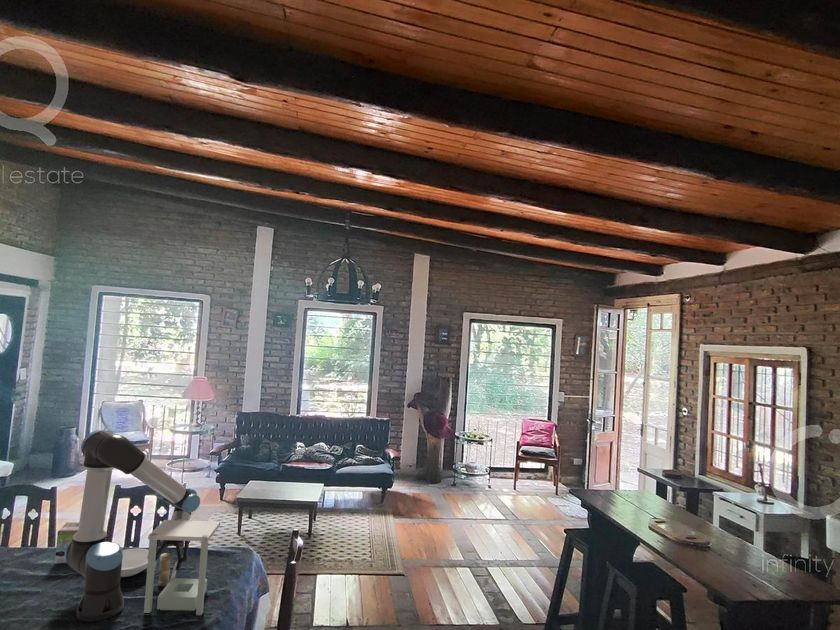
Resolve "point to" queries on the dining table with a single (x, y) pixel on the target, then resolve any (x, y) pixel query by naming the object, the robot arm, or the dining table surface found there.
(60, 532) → the tea box
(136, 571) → the bowl
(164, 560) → the dowel
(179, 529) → the socket
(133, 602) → the dining table surface
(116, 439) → the robot arm
